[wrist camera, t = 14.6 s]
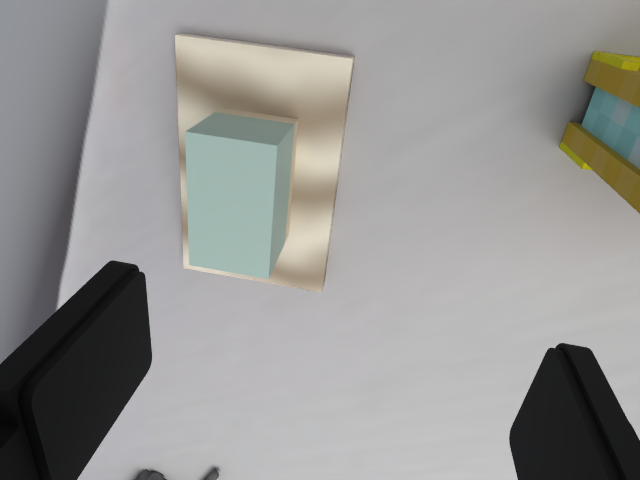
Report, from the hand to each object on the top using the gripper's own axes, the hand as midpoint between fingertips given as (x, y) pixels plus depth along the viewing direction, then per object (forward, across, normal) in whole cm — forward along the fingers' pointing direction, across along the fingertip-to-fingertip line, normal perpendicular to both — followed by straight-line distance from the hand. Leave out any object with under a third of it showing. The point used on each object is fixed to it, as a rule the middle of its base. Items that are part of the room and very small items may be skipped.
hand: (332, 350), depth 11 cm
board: (+28, +9, +7) cm, 30 cm away
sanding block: (+26, +9, +7) cm, 29 cm away
